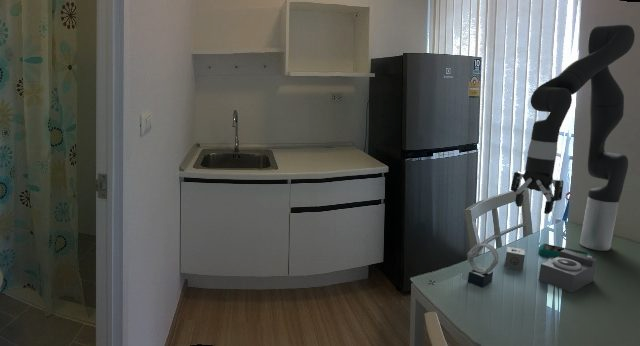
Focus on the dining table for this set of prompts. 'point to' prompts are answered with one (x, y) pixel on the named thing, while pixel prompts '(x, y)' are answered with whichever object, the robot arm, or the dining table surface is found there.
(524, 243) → the dining table surface
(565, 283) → the camera body
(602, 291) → the dining table surface
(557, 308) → the dining table surface
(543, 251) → the digital multimeter
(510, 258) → the dice cube
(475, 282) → the watch
